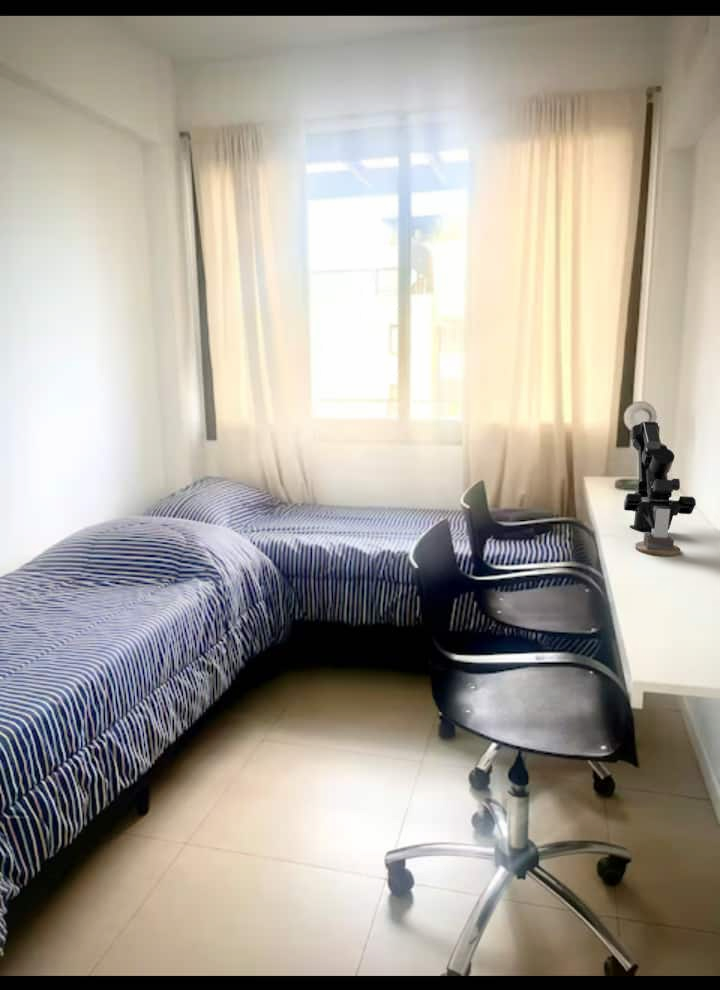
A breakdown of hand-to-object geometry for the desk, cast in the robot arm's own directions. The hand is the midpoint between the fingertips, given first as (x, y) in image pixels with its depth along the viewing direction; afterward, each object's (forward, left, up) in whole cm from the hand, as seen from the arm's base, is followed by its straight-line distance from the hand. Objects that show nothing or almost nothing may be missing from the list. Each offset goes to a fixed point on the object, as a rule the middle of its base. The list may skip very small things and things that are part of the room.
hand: (660, 528), depth 197 cm
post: (-1, +1, -5) cm, 6 cm away
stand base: (-1, +1, -7) cm, 7 cm away
